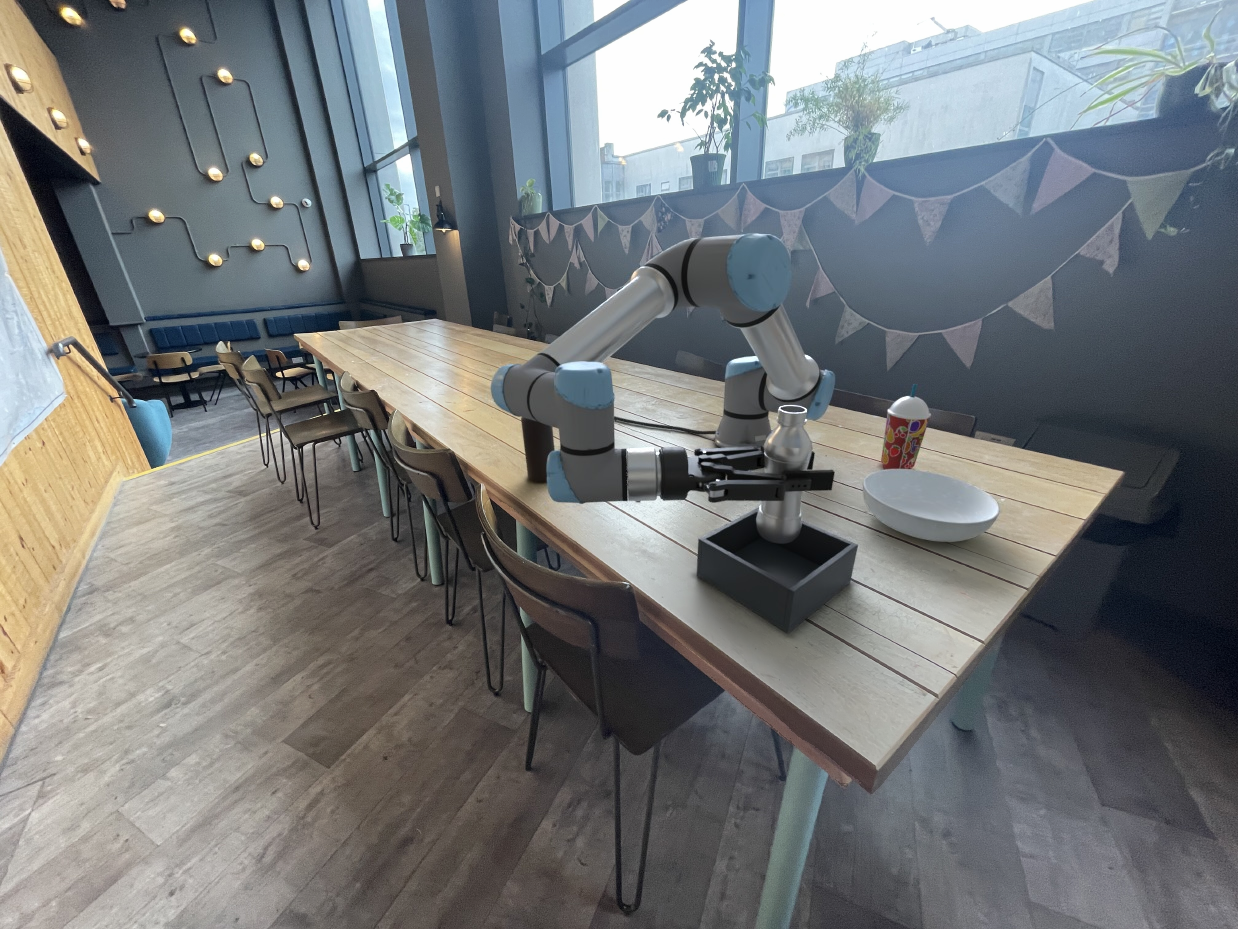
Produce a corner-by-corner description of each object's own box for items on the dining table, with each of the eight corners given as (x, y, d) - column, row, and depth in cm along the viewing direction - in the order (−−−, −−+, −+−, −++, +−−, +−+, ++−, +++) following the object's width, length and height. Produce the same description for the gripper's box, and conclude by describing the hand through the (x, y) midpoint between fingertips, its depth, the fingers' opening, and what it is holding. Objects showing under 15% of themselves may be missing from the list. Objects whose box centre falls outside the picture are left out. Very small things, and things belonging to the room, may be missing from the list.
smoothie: (922, 476, 105) (944, 389, 97) (882, 474, 107) (900, 388, 99) (909, 462, 113) (928, 380, 105) (871, 460, 114) (888, 379, 106)
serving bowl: (936, 571, 74) (946, 534, 72) (832, 512, 92) (838, 481, 89) (1016, 539, 82) (1029, 504, 79) (906, 490, 99) (913, 461, 97)
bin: (696, 575, 75) (698, 538, 72) (760, 538, 84) (763, 504, 82) (787, 633, 63) (794, 591, 60) (850, 583, 72) (858, 544, 69)
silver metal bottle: (799, 529, 72) (817, 403, 64) (799, 552, 67) (819, 418, 59) (756, 522, 74) (768, 400, 66) (752, 545, 69) (766, 414, 61)
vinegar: (540, 485, 107) (531, 400, 99) (522, 478, 111) (512, 395, 103) (562, 476, 111) (555, 394, 103) (544, 468, 116) (536, 389, 108)
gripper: (653, 470, 76) (794, 466, 76) (664, 532, 59) (848, 528, 59) (653, 427, 73) (800, 423, 73) (664, 478, 56) (858, 473, 56)
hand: (821, 469), depth 66 cm, fingers closed on silver metal bottle, 6 cm apart
